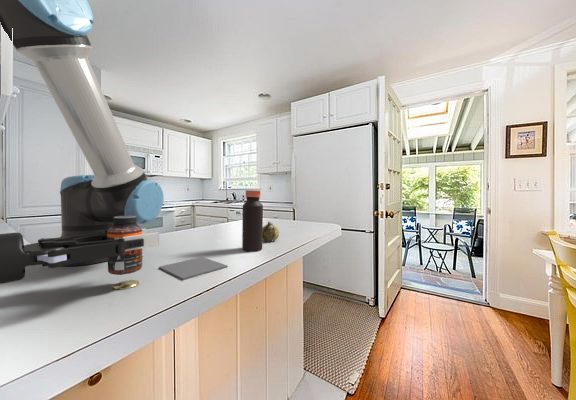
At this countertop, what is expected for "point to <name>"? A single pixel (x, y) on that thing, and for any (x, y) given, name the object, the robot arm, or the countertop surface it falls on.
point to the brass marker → (126, 284)
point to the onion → (270, 232)
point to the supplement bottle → (132, 258)
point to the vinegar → (252, 222)
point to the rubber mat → (192, 267)
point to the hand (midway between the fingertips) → (151, 236)
